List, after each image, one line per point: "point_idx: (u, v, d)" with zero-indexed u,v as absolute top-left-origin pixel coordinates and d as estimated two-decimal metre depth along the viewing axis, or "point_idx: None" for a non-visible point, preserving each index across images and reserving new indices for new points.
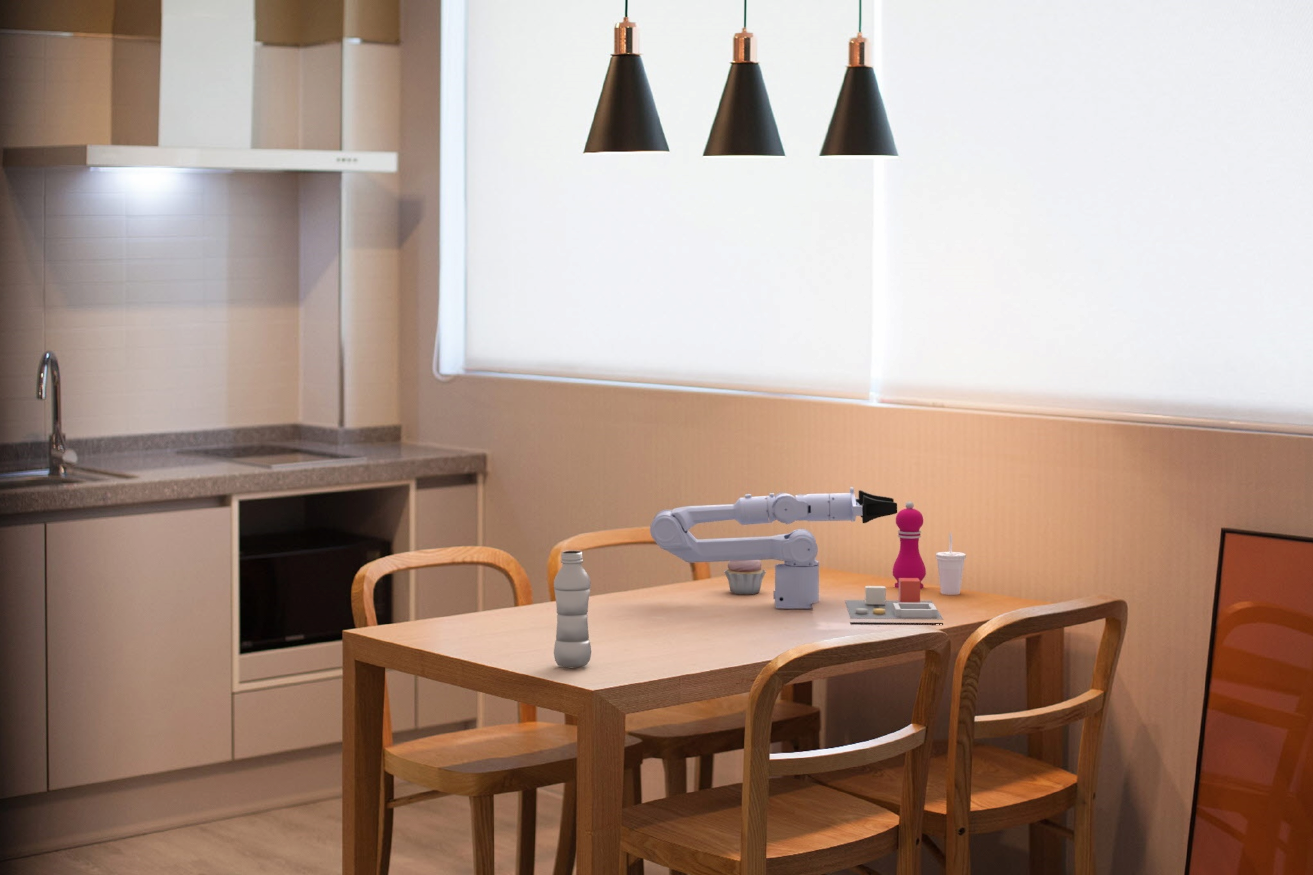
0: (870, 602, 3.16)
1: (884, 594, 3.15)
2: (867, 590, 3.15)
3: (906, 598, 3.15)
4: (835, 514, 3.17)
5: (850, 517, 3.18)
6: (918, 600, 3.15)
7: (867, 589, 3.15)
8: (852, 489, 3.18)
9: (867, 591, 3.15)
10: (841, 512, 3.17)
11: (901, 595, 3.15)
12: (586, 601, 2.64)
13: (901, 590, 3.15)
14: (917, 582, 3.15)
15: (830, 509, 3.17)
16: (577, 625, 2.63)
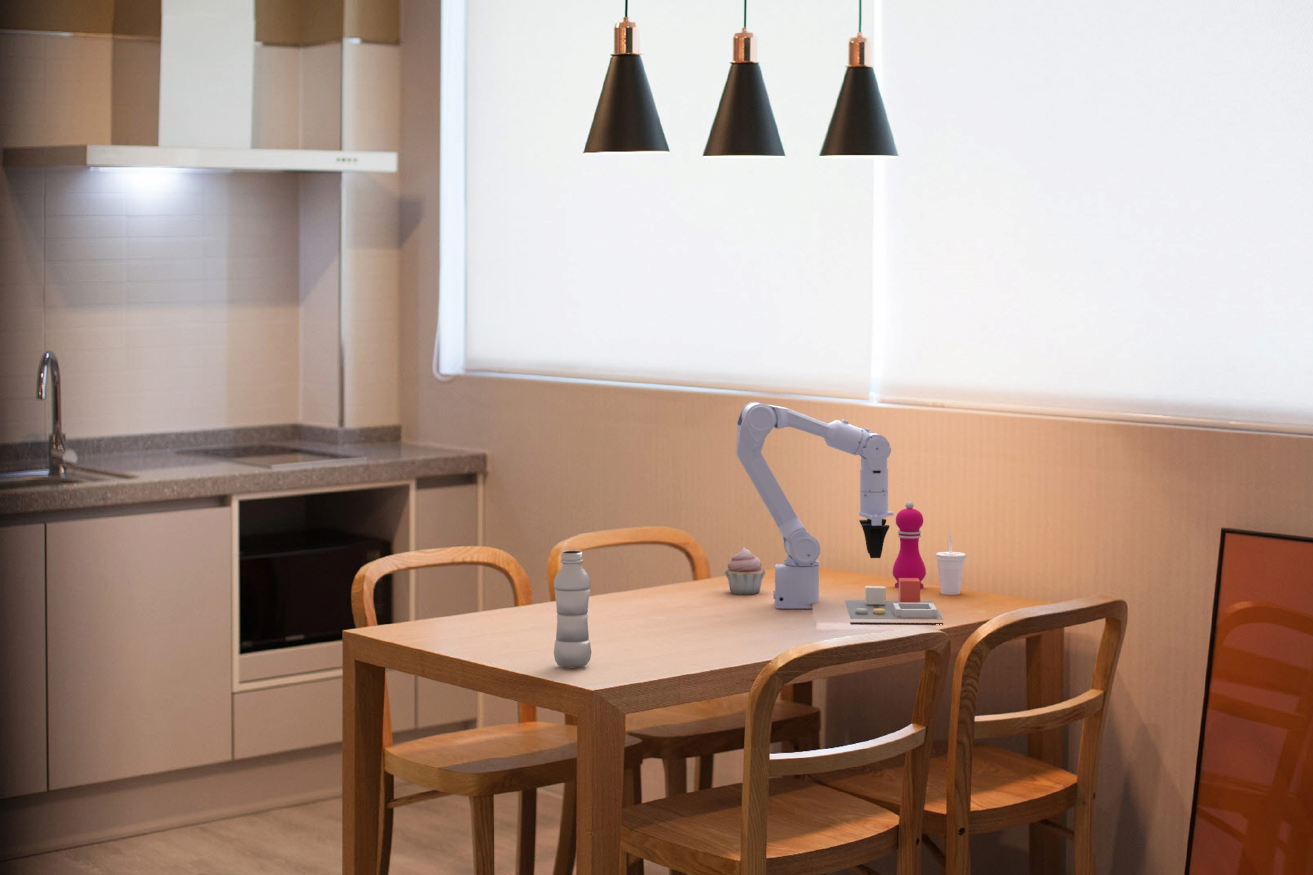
0: (870, 602, 3.16)
1: (884, 594, 3.15)
2: (867, 590, 3.15)
3: (906, 598, 3.15)
4: (869, 497, 3.19)
5: (865, 512, 3.20)
6: (918, 600, 3.15)
7: (867, 589, 3.15)
8: (892, 514, 3.20)
9: (867, 591, 3.15)
10: (870, 503, 3.19)
11: (901, 595, 3.15)
12: (586, 601, 2.64)
13: (901, 590, 3.15)
14: (917, 582, 3.15)
15: (874, 492, 3.18)
16: (577, 625, 2.63)
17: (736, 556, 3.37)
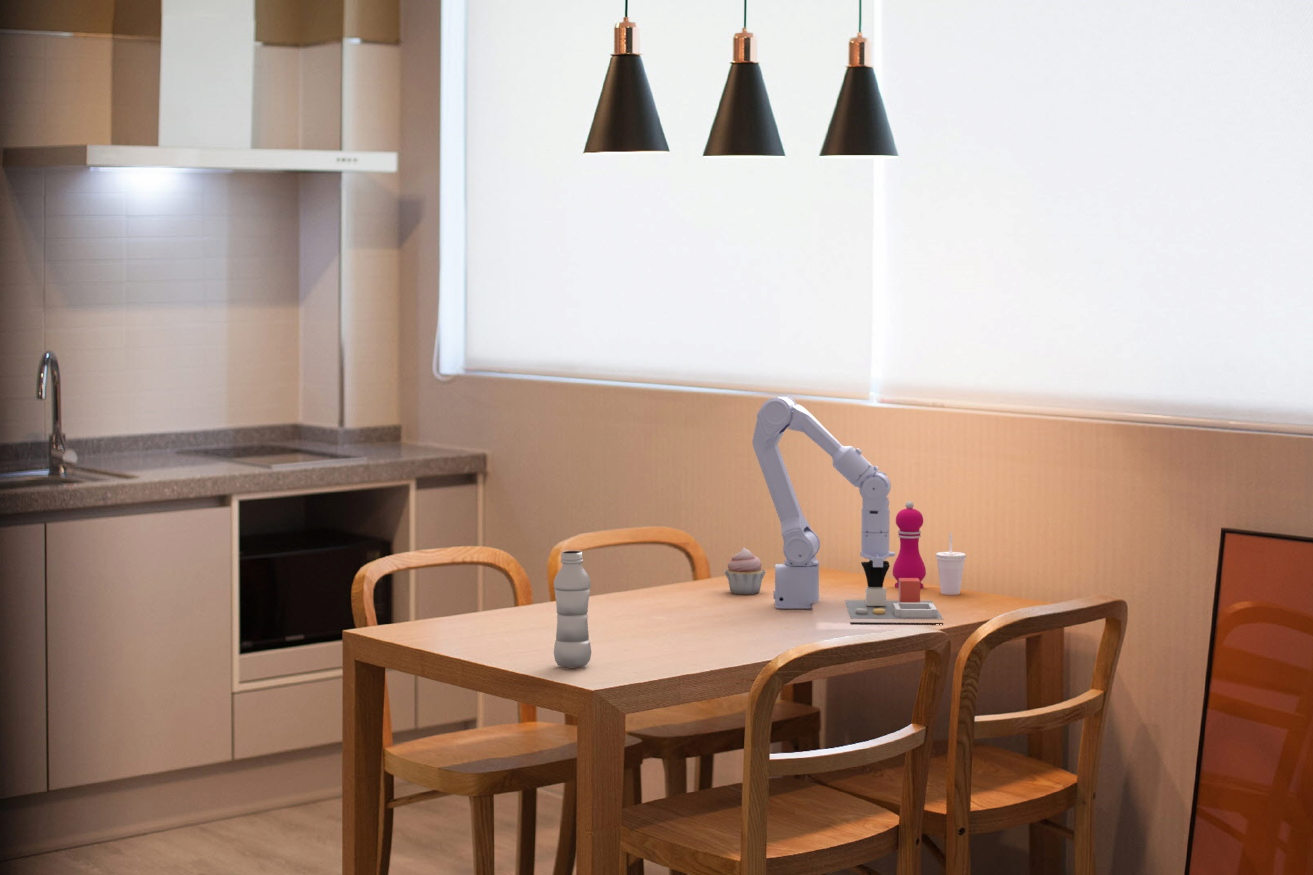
0: (871, 603, 3.14)
1: (885, 595, 3.14)
2: (868, 591, 3.14)
3: (906, 598, 3.15)
4: (870, 538, 3.14)
5: (866, 552, 3.15)
6: (918, 600, 3.15)
7: (868, 590, 3.14)
8: (893, 555, 3.16)
9: (867, 592, 3.14)
10: (872, 544, 3.14)
11: (901, 595, 3.15)
12: (586, 601, 2.64)
13: (901, 590, 3.15)
14: (917, 582, 3.15)
15: (875, 533, 3.14)
16: (577, 625, 2.63)
17: (736, 556, 3.37)
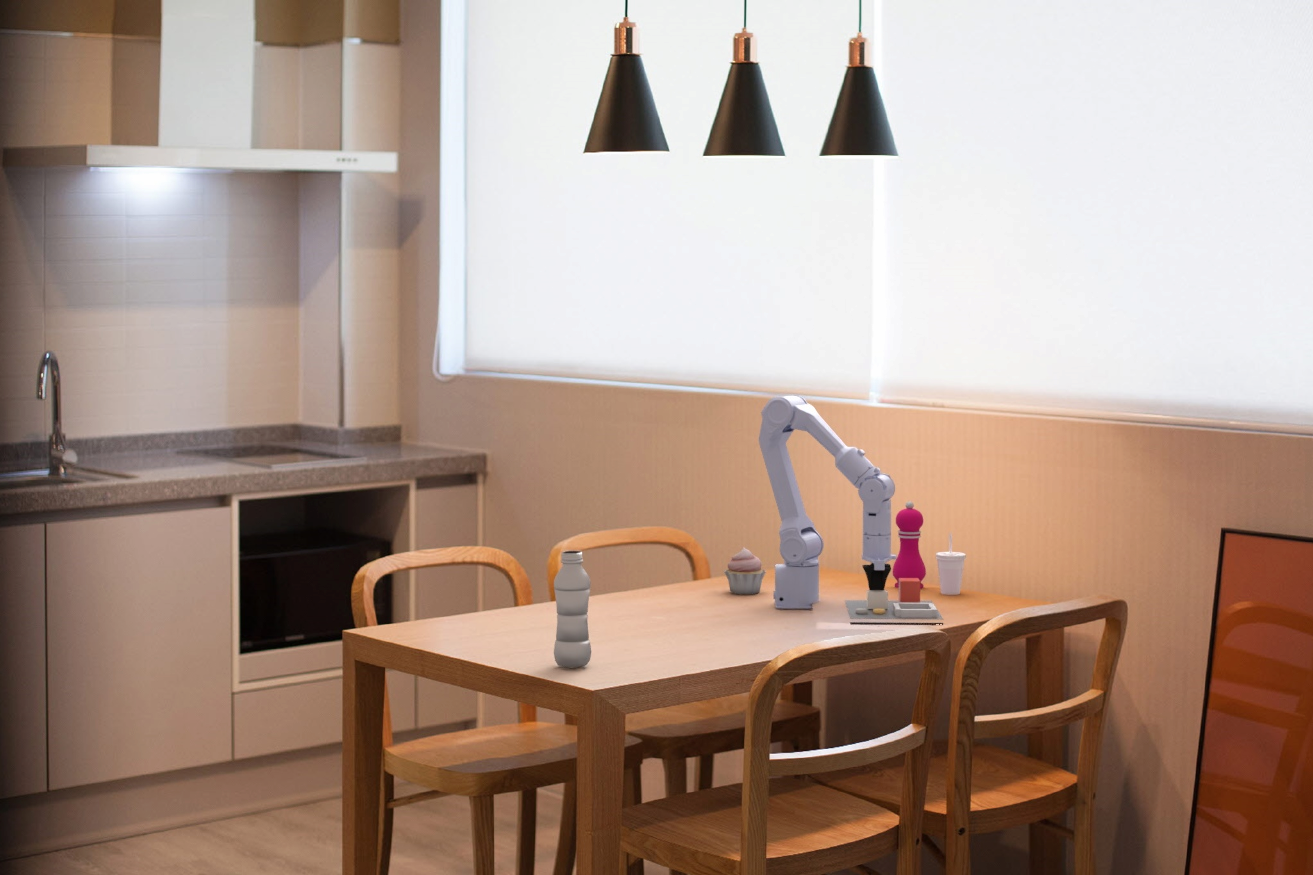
0: (872, 607, 3.11)
1: (886, 598, 3.10)
2: (869, 594, 3.10)
3: (906, 598, 3.15)
4: (871, 540, 3.11)
5: (867, 555, 3.11)
6: (918, 600, 3.15)
7: (869, 593, 3.10)
8: (895, 557, 3.12)
9: (869, 595, 3.10)
10: (873, 546, 3.10)
11: (901, 595, 3.15)
12: (586, 601, 2.64)
13: (901, 590, 3.15)
14: (917, 582, 3.15)
15: (877, 536, 3.10)
16: (577, 625, 2.63)
17: (736, 556, 3.37)
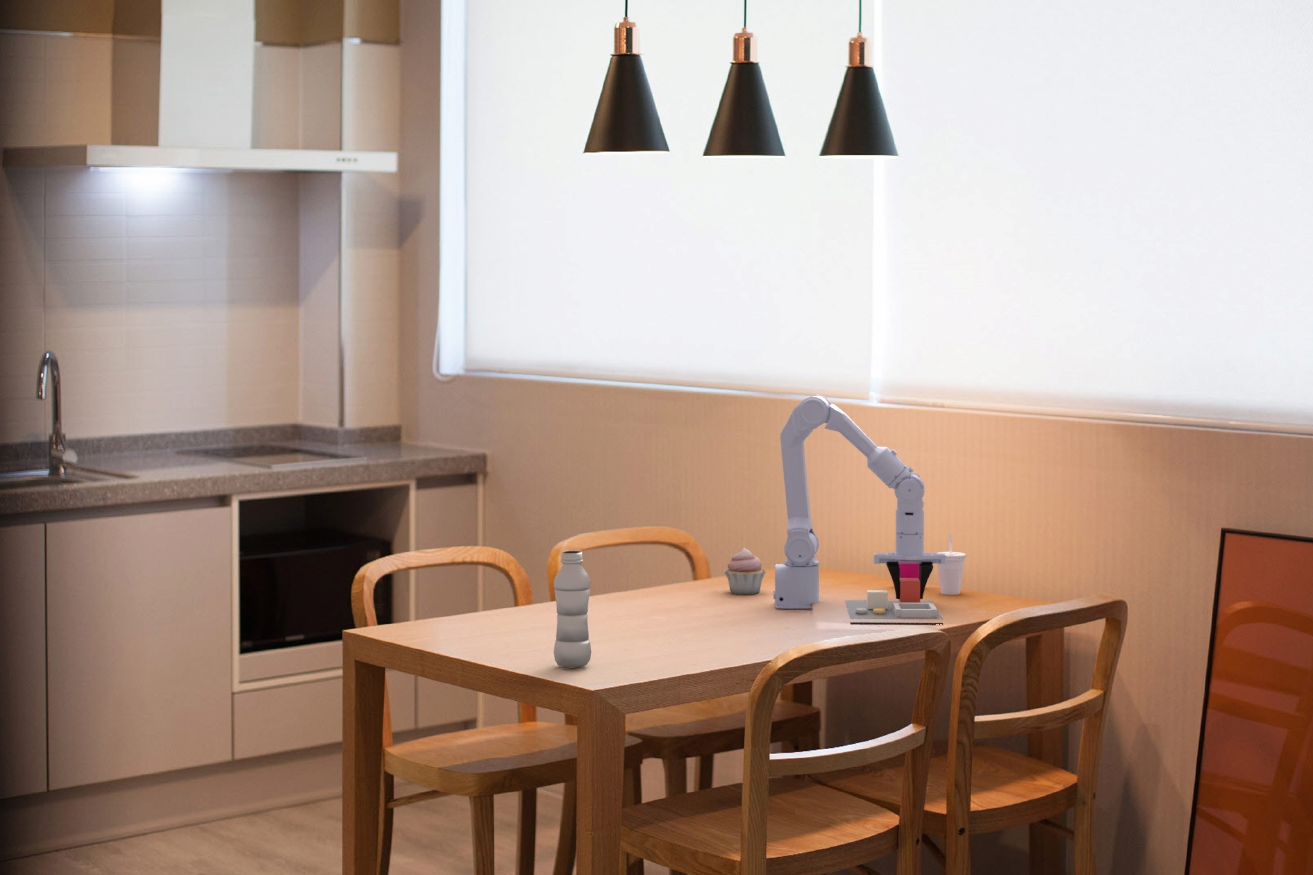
0: (872, 607, 3.11)
1: (886, 598, 3.10)
2: (869, 594, 3.10)
3: (906, 598, 3.15)
4: None
5: None
6: (918, 600, 3.15)
7: (869, 593, 3.10)
8: (906, 558, 3.13)
9: (869, 595, 3.10)
10: None
11: (901, 595, 3.15)
12: (586, 601, 2.64)
13: (901, 590, 3.15)
14: (917, 582, 3.15)
15: None
16: (577, 625, 2.63)
17: (736, 556, 3.37)
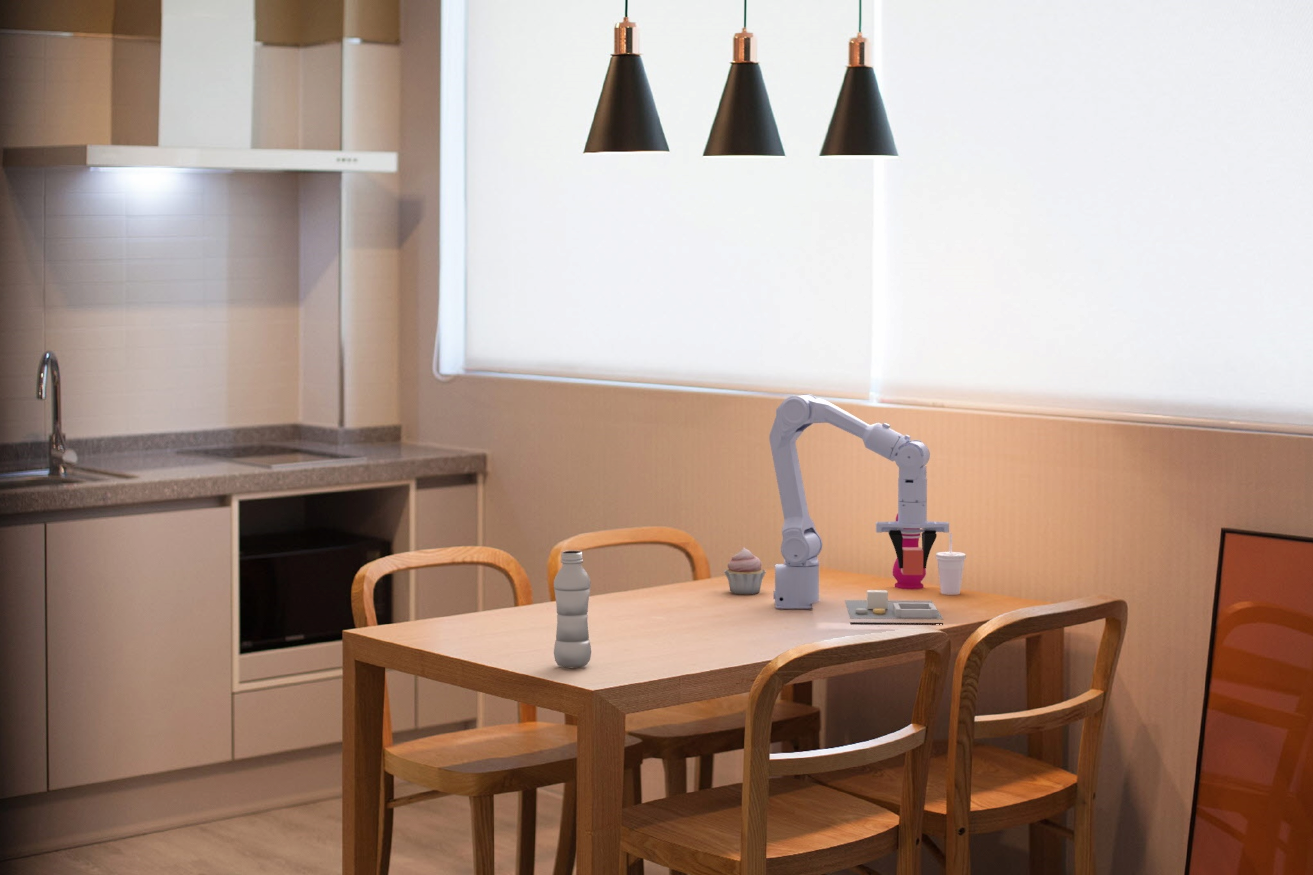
0: (872, 607, 3.11)
1: (886, 598, 3.10)
2: (869, 594, 3.10)
3: (909, 567, 3.10)
4: None
5: None
6: (921, 569, 3.10)
7: (869, 593, 3.10)
8: (909, 526, 3.08)
9: (869, 595, 3.10)
10: None
11: (904, 564, 3.10)
12: (586, 601, 2.64)
13: (904, 559, 3.10)
14: (920, 551, 3.10)
15: (898, 501, 3.11)
16: (577, 625, 2.63)
17: (736, 556, 3.37)
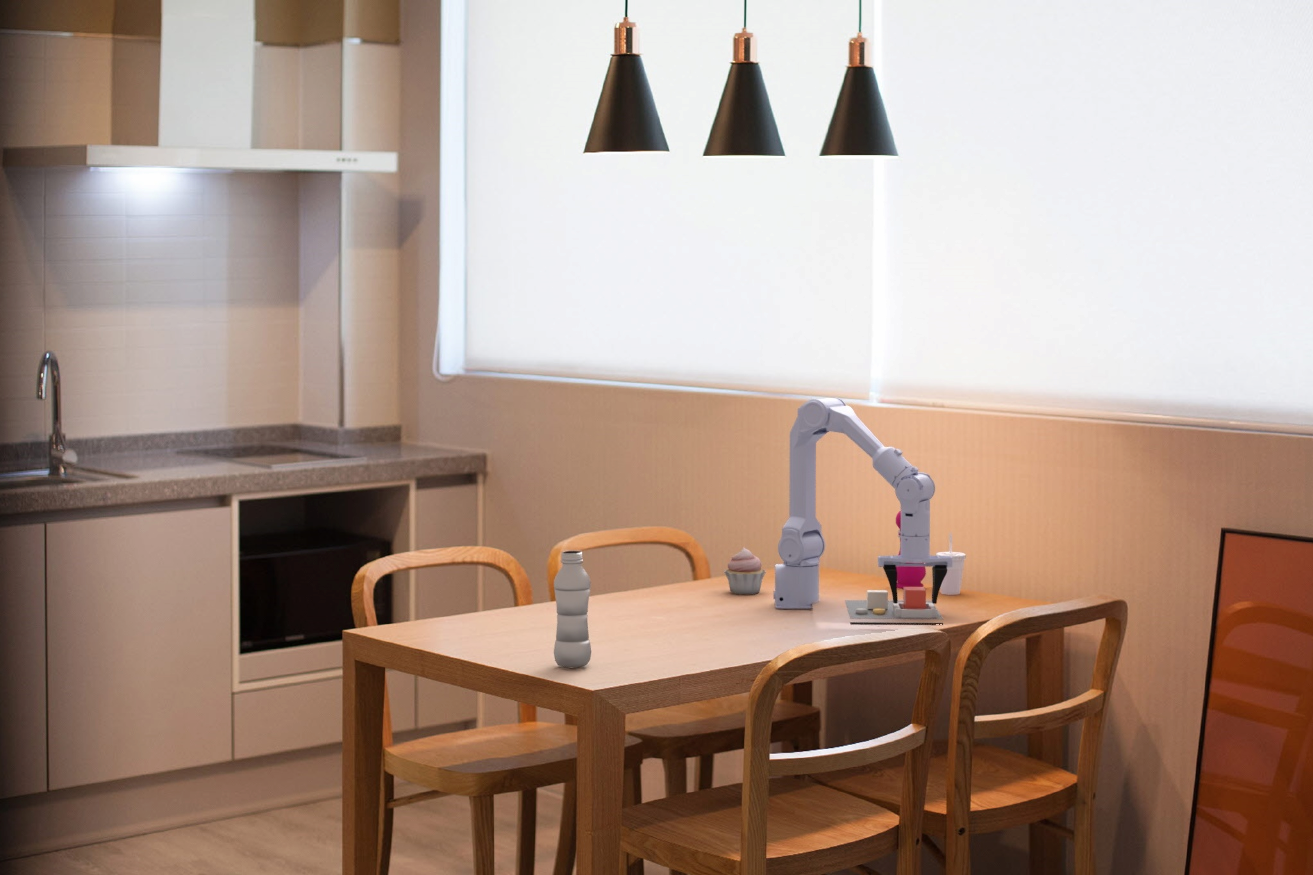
0: (872, 607, 3.11)
1: (886, 598, 3.10)
2: (869, 594, 3.10)
3: (911, 608, 3.05)
4: None
5: None
6: None
7: (869, 593, 3.10)
8: (911, 561, 3.02)
9: (869, 595, 3.10)
10: None
11: (906, 605, 3.05)
12: (586, 601, 2.64)
13: (906, 599, 3.05)
14: (923, 591, 3.04)
15: None
16: (577, 625, 2.63)
17: (736, 556, 3.37)
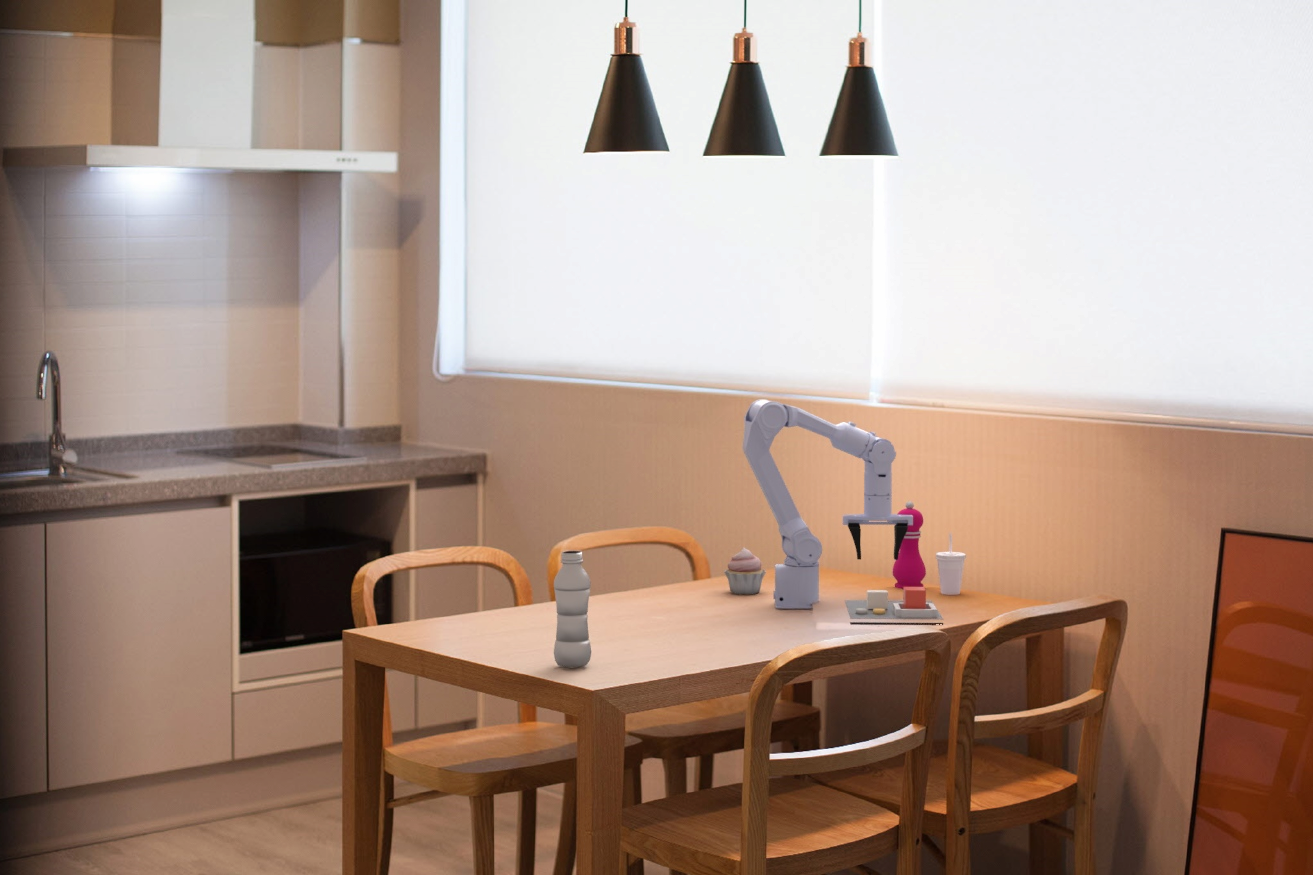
0: (872, 607, 3.11)
1: (886, 598, 3.10)
2: (869, 594, 3.10)
3: (911, 608, 3.05)
4: None
5: None
6: None
7: (869, 593, 3.10)
8: (874, 519, 3.20)
9: (869, 595, 3.10)
10: None
11: (906, 605, 3.05)
12: (586, 601, 2.64)
13: (906, 599, 3.05)
14: (923, 591, 3.04)
15: (864, 494, 3.23)
16: (577, 625, 2.63)
17: (736, 556, 3.37)
